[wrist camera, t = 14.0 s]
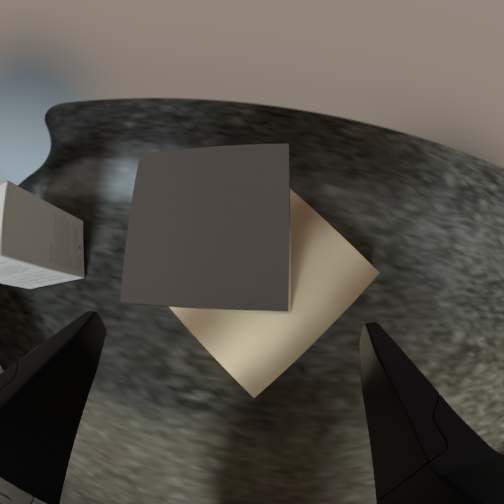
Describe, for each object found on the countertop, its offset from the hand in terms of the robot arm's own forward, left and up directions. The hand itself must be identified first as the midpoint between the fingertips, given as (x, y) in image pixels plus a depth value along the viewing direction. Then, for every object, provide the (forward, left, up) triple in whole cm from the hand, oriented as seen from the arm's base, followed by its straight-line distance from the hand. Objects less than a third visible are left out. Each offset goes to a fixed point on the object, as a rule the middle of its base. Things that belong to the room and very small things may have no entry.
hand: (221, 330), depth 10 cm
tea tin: (+2, -2, -11) cm, 11 cm away
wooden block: (+2, -2, -14) cm, 14 cm away
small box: (+17, +11, -14) cm, 25 cm away
